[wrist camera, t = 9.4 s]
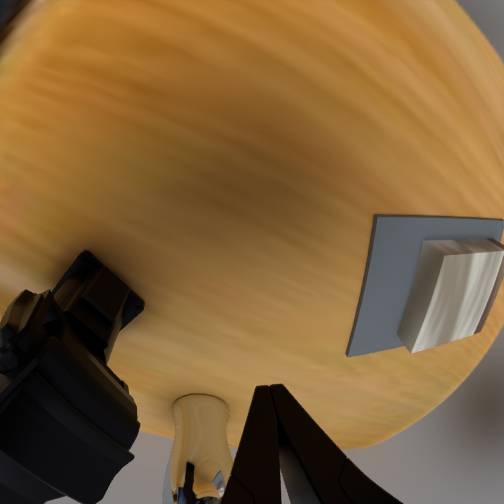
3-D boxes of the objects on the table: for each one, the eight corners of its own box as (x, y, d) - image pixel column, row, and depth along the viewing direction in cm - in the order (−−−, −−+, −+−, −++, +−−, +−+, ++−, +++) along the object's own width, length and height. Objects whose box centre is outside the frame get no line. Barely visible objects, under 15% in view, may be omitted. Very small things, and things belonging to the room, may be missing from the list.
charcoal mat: (345, 353, 26) (347, 357, 26) (374, 214, 21) (377, 216, 20) (467, 325, 28) (469, 327, 28) (502, 219, 22) (505, 220, 22)
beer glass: (224, 386, 26) (237, 530, 13) (238, 421, 29) (253, 539, 16) (159, 394, 26) (146, 528, 13) (181, 427, 29) (179, 540, 16)
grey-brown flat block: (410, 353, 23) (480, 331, 24) (444, 255, 19) (511, 250, 20) (396, 334, 26) (466, 317, 27) (423, 240, 21) (492, 238, 23)
